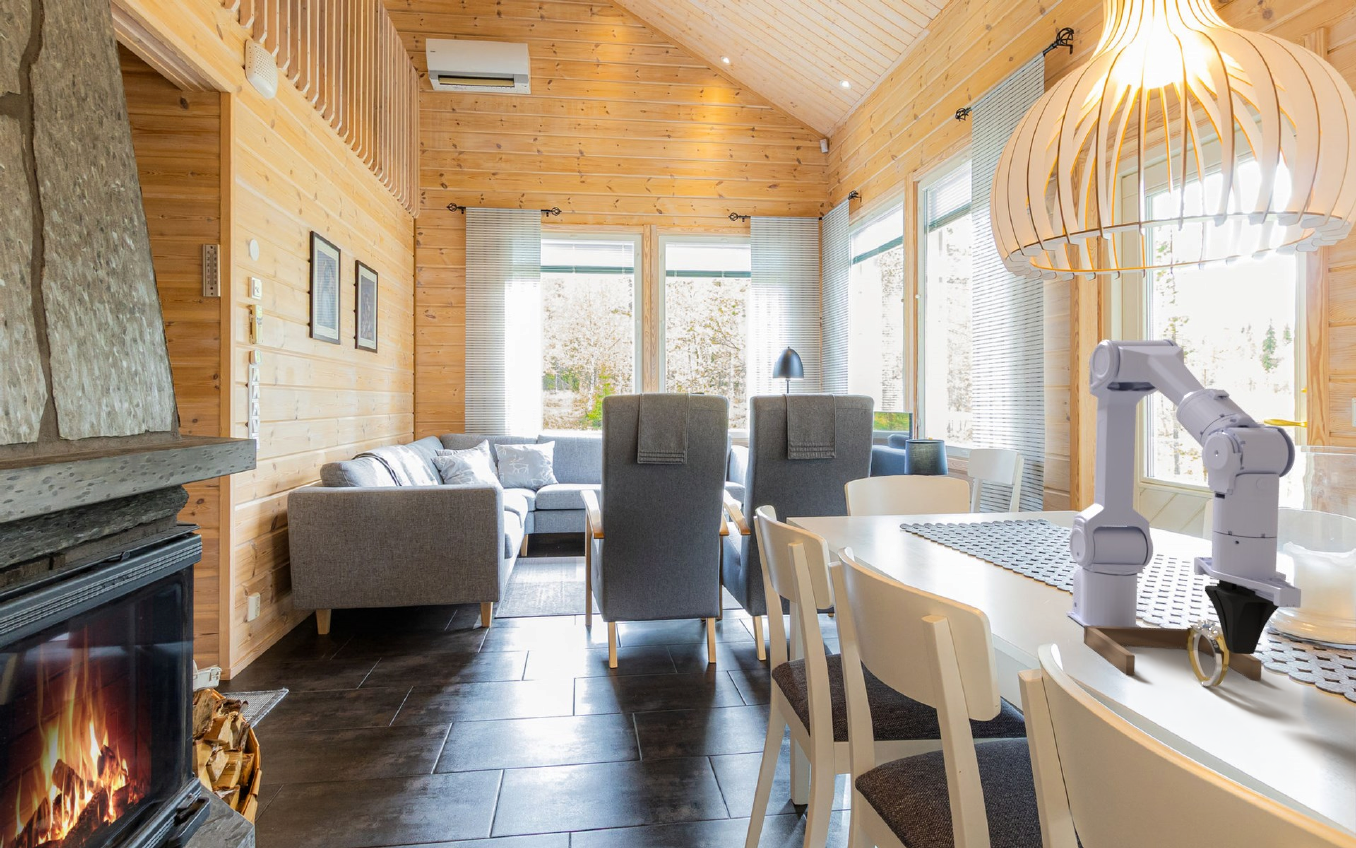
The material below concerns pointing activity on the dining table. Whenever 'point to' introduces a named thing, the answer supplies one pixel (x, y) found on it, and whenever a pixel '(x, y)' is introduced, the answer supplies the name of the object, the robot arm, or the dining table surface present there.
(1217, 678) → the ring
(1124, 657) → the brown u-shaped frame
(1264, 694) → the dining table surface
